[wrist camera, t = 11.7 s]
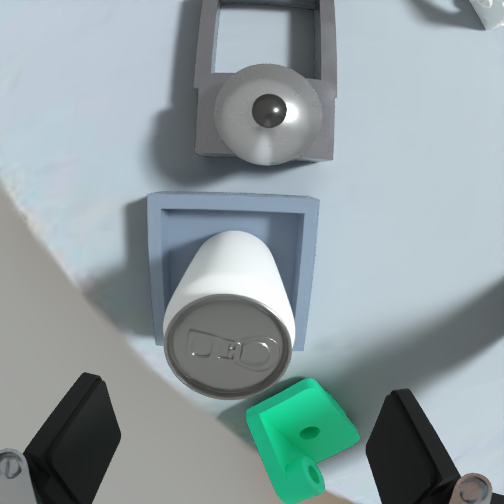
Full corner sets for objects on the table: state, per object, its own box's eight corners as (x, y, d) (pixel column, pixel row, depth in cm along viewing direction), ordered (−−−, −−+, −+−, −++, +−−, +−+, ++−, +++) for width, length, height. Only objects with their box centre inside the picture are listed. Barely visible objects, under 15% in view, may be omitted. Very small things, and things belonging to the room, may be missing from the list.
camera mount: (356, 425, 30) (382, 489, 20) (302, 452, 31) (315, 517, 21) (309, 368, 28) (333, 445, 18) (245, 403, 29) (247, 482, 19)
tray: (310, 196, 24) (319, 200, 21) (297, 333, 26) (303, 350, 24) (158, 191, 23) (147, 194, 20) (164, 327, 26) (155, 345, 23)
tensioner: (327, 2, 19) (347, -35, 13) (326, 171, 23) (354, 171, 17) (208, -6, 19) (199, -47, 12) (193, 165, 23) (175, 162, 16)
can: (266, 312, 25) (282, 412, 14) (189, 299, 25) (153, 393, 13) (282, 237, 24) (318, 297, 12) (199, 222, 23) (158, 271, 12)
